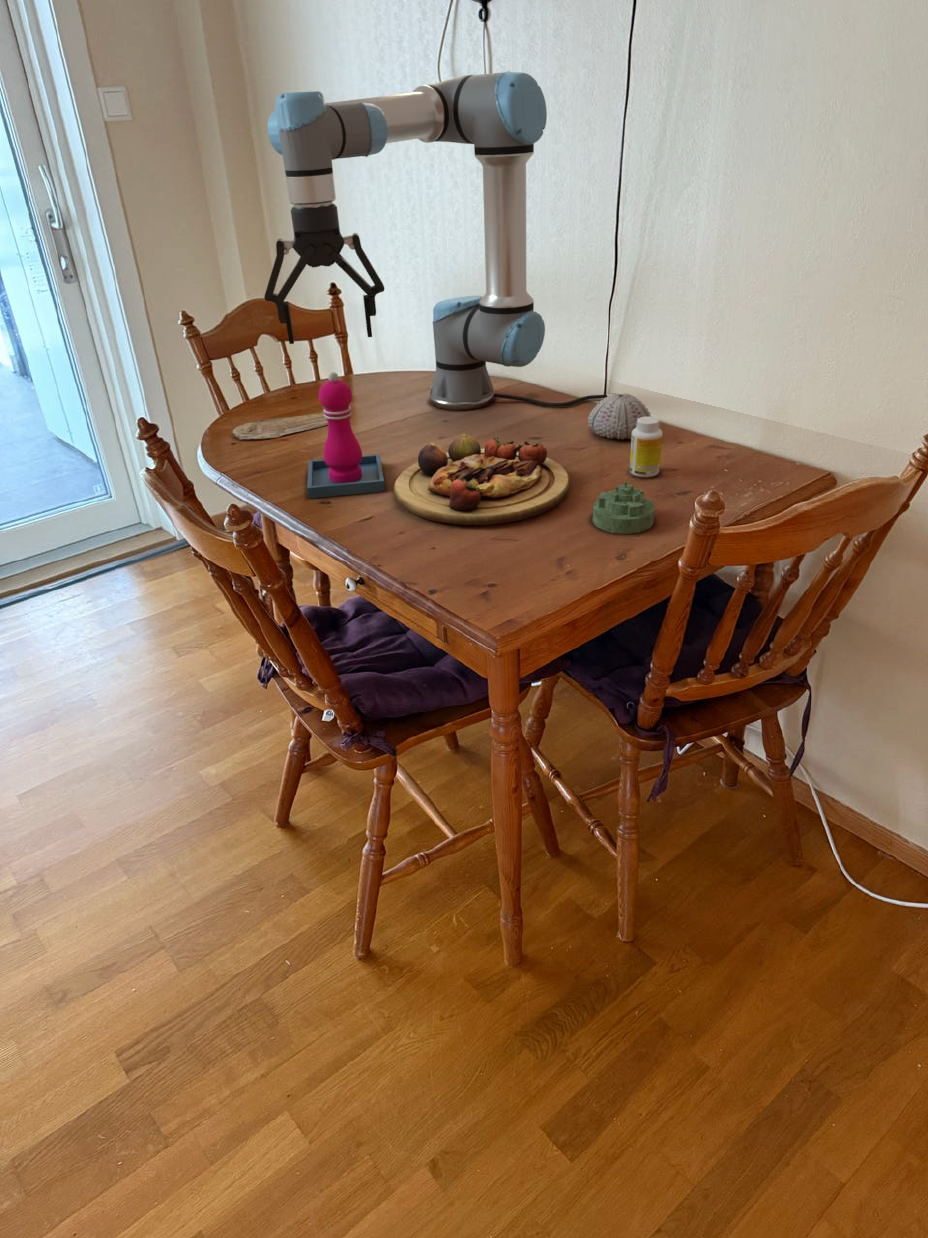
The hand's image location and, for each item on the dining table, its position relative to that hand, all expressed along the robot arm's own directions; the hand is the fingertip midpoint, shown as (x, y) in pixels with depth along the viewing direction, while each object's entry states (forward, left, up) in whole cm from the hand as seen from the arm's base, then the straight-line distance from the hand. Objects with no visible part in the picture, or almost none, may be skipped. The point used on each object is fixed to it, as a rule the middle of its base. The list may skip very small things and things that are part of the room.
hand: (331, 338), depth 146 cm
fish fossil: (+12, -34, -26) cm, 45 cm away
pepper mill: (0, +1, -26) cm, 26 cm away
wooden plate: (-24, +12, -26) cm, 38 cm away
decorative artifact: (-45, +30, -26) cm, 60 cm away
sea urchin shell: (-57, -11, -26) cm, 64 cm away
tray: (0, +1, -26) cm, 26 cm away
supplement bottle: (-55, +11, -26) cm, 62 cm away
